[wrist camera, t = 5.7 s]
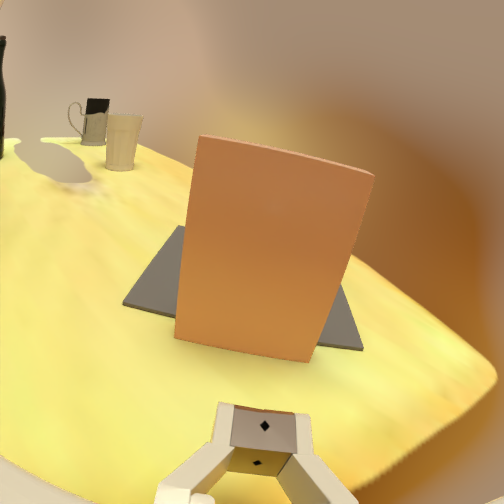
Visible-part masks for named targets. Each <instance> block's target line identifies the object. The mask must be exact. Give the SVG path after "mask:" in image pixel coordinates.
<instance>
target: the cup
mask: <svg viewBox="0 0 504 504" xmlns="http://www.w3.org/2000/svg"><path fill="white" fill-rule="evenodd" d="M142 121H143V116H142V115H135V114H121V113H120V114H119V113H109V114H108V119H107V147H106V169H108V170H112V171H130V170H133V165H134V163H133V162H134V157H135V152H136V146H137V141H138V136H139V132H140V129H141V124H142Z"/></svg>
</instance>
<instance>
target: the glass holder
mask: <svg viewBox="0 0 504 504" xmlns="http://www.w3.org/2000/svg"><path fill="white" fill-rule="evenodd" d="M109 101H110V99H92V98H90V99H89V98H88V100H87V106H86V114H85V115H83V116H85V118H84V127H83V136H82V134H81V133H80V132H79V131H78V130H77V129H76V128H75V127H74V126H73V125H72V123H71V121H70V117H69V109H70V106H71V105H72V104H74V103H77V102H74V103H72V104H71V105H70V106H69V109H68V119H69V122H70V124H71V126H72V127H73V128H74V129H75V130H76V131H77V132H78V133H79V134H80V135H81V136H82V142H81V145H85V146H102V145H106V142H105V135H106V127H107V119H108V112H109ZM78 104H79V103H78ZM79 105H80V104H79ZM81 110H82V107H81V105H80V114H81ZM81 115H82V114H81Z"/></svg>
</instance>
